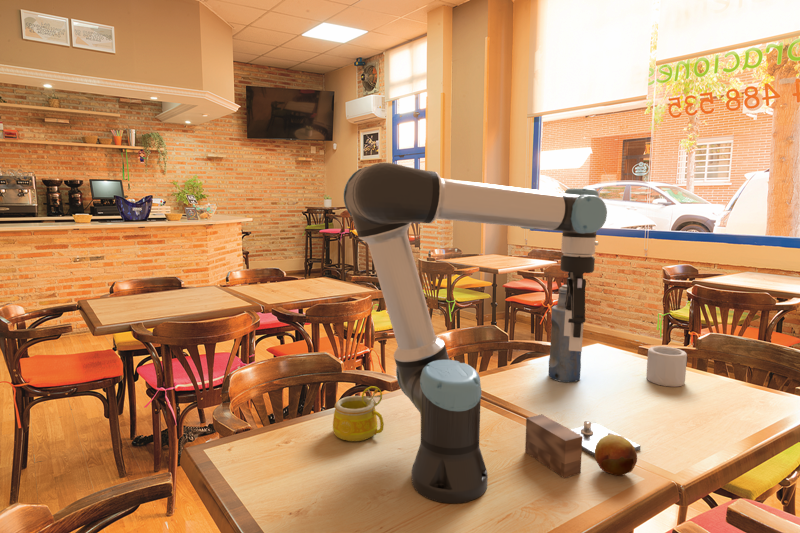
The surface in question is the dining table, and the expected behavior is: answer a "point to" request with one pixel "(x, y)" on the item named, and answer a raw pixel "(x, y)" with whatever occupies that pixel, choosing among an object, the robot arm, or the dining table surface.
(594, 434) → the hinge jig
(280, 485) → the dining table surface
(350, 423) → the mug
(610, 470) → the fruit
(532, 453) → the door
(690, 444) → the dining table surface
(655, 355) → the mug
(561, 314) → the bottle
